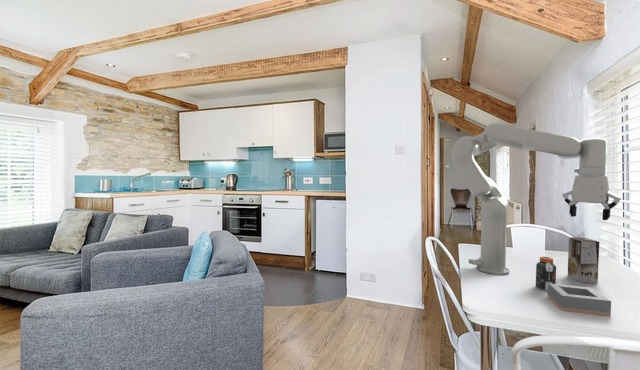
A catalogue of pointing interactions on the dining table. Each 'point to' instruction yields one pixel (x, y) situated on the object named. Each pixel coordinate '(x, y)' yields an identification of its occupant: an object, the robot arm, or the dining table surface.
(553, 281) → the pill bottle
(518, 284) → the dining table surface
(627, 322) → the dining table surface
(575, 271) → the coffee box
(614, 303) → the dining table surface
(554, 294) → the grey square frame
